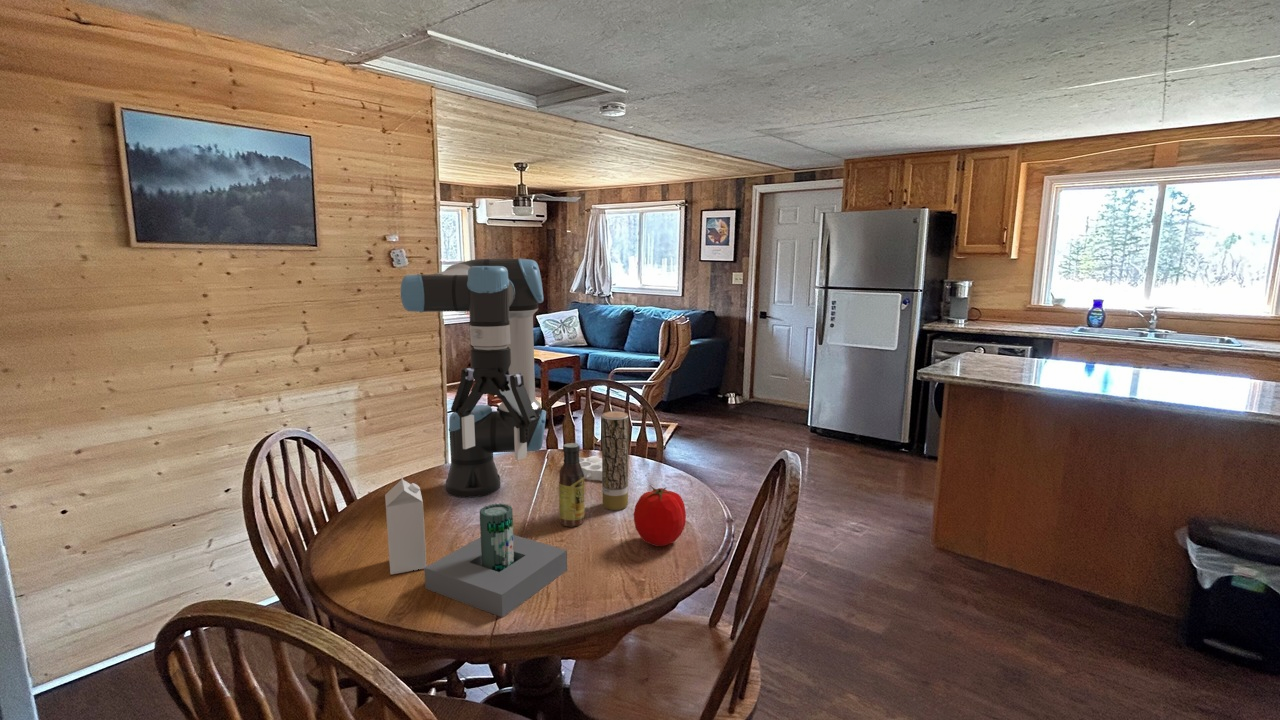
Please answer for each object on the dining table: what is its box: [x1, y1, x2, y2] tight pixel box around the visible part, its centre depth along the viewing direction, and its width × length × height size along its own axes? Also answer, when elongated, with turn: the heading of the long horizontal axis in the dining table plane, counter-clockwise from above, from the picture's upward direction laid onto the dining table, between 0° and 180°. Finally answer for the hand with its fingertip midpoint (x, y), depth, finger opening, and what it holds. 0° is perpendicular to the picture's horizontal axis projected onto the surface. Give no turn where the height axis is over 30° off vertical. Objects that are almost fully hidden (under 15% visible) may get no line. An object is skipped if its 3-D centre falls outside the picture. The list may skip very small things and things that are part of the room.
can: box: [479, 503, 514, 572], centre depth 124 cm, size 6×6×15 cm
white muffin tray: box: [579, 455, 602, 482], centre depth 188 cm, size 3×18×15 cm
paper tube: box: [601, 410, 629, 511], centre depth 161 cm, size 7×7×25 cm
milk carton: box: [384, 474, 427, 575], centre depth 130 cm, size 7×7×19 cm
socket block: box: [423, 534, 568, 618], centre depth 125 cm, size 20×20×4 cm
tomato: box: [633, 485, 687, 547], centre depth 141 cm, size 12×12×13 cm
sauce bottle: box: [558, 442, 585, 527], centre depth 151 cm, size 6×6×20 cm
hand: (494, 452), depth 122 cm, fingers open, 13 cm apart
